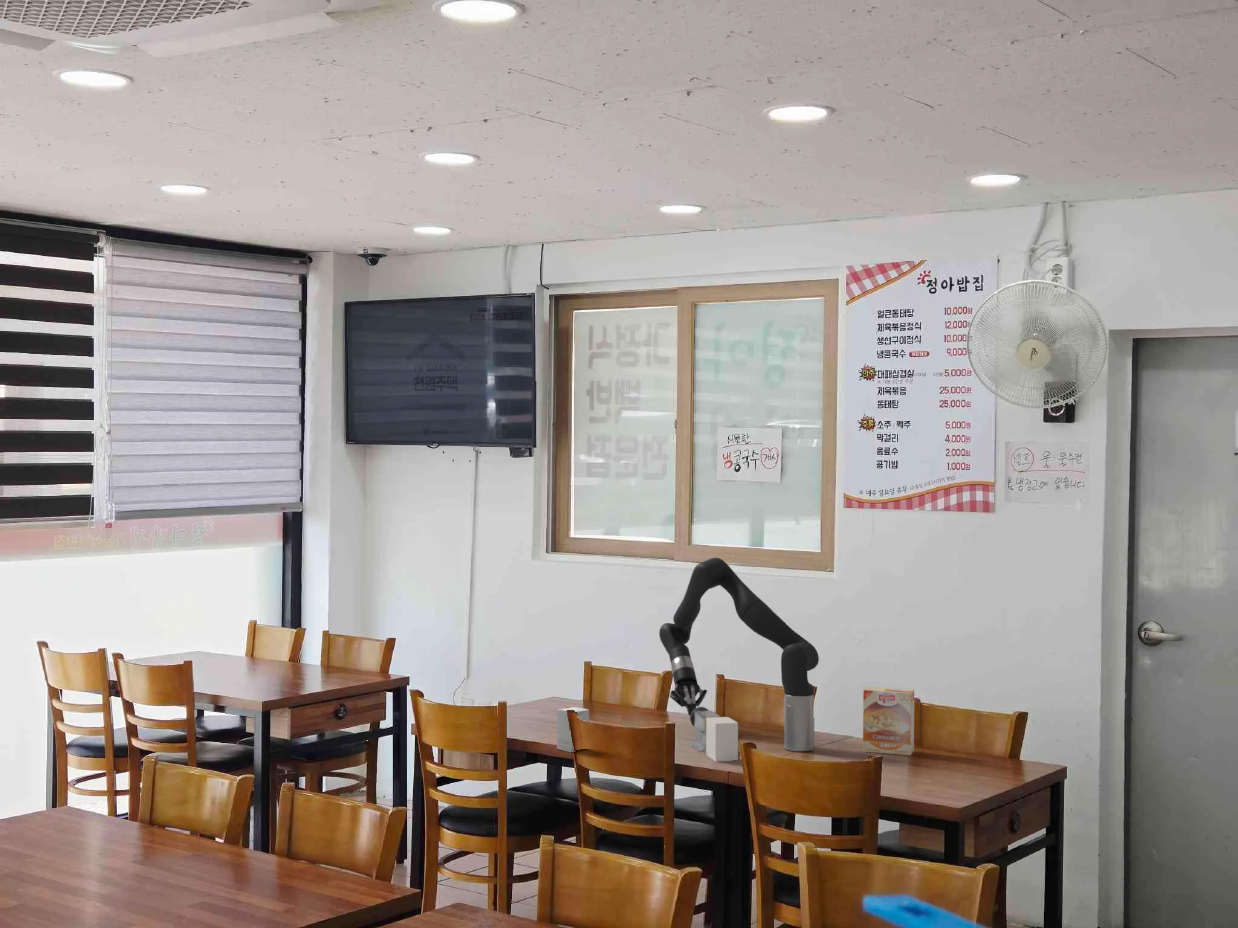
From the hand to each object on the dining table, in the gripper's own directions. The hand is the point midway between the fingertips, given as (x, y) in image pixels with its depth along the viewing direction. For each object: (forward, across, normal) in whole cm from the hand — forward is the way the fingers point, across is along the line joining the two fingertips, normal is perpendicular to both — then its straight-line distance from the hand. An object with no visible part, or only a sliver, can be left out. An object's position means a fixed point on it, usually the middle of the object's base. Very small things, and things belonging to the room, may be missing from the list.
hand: (693, 715), depth 450 cm
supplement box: (+13, -42, -2) cm, 44 cm away
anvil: (+16, 0, -6) cm, 17 cm away
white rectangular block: (+28, 0, -17) cm, 33 cm away
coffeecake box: (+29, +54, -18) cm, 64 cm away
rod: (+16, 0, -12) cm, 20 cm away
